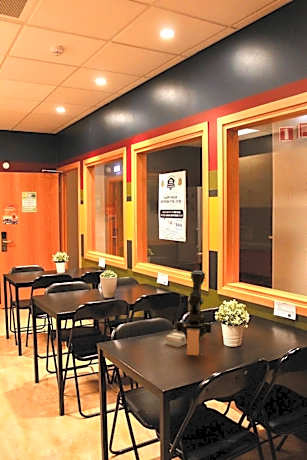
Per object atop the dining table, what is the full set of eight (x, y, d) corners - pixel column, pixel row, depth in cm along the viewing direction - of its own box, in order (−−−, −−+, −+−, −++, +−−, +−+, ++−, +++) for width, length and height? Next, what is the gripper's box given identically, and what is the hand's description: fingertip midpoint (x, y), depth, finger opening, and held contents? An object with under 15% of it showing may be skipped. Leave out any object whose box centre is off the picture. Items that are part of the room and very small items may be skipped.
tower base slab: (174, 340, 246) (174, 336, 246) (187, 343, 241) (187, 339, 241) (165, 344, 239) (165, 340, 239) (178, 347, 233) (178, 343, 233)
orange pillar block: (187, 351, 226) (188, 328, 226) (198, 351, 226) (199, 329, 225) (186, 354, 220) (187, 332, 220) (198, 355, 220) (198, 332, 219)
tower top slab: (174, 336, 246) (174, 332, 246) (187, 339, 241) (187, 335, 241) (166, 340, 238) (166, 336, 238) (179, 343, 233) (179, 338, 233)
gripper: (176, 306, 227) (174, 332, 217) (211, 308, 225) (211, 335, 214) (177, 317, 235) (175, 343, 225) (211, 319, 233) (210, 345, 222)
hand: (193, 341), depth 221 cm, fingers closed on orange pillar block, 6 cm apart
